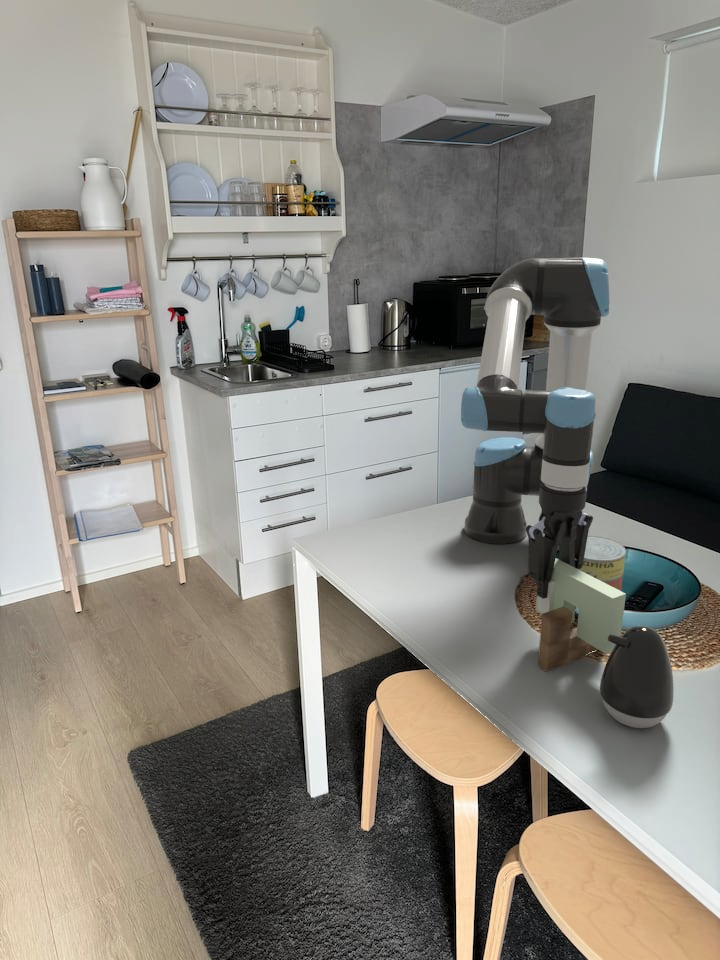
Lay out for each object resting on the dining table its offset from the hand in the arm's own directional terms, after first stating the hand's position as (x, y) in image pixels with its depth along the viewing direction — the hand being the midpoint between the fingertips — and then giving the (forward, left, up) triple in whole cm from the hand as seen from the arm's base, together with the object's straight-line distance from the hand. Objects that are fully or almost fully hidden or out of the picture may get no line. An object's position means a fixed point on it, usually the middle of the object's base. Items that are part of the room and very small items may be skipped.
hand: (552, 609), depth 122 cm
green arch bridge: (0, +5, -1) cm, 6 cm away
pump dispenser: (+4, +21, -7) cm, 23 cm away
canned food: (-17, -7, -7) cm, 20 cm away
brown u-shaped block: (0, +5, -7) cm, 9 cm away
